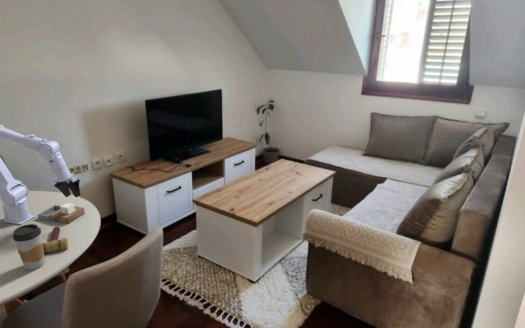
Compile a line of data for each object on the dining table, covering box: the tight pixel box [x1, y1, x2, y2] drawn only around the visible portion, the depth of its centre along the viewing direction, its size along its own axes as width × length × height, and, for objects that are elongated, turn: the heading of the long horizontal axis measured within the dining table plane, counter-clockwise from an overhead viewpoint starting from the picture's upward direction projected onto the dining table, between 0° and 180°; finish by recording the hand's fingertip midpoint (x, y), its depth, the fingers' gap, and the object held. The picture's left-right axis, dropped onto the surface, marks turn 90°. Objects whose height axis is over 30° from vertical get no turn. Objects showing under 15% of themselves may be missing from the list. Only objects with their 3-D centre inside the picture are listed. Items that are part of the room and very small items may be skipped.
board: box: [49, 206, 86, 225], centre depth 159 cm, size 10×10×3 cm
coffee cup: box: [12, 223, 46, 271], centre depth 124 cm, size 8×8×15 cm
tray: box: [37, 204, 62, 222], centre depth 161 cm, size 6×10×2 cm, turn 165°
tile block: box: [60, 202, 76, 214], centre depth 158 cm, size 4×4×3 cm
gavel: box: [42, 225, 69, 254], centre depth 141 cm, size 21×5×10 cm
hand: (73, 196), depth 152 cm, fingers open, 7 cm apart
